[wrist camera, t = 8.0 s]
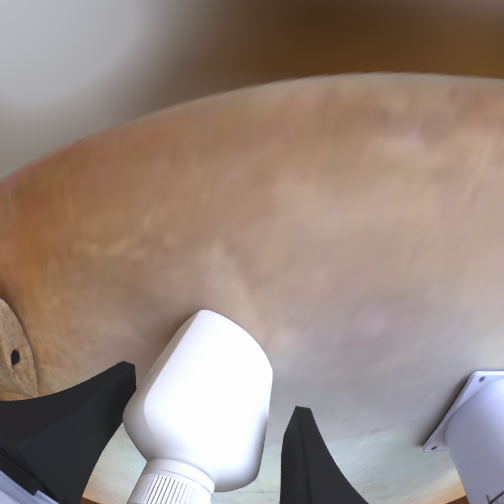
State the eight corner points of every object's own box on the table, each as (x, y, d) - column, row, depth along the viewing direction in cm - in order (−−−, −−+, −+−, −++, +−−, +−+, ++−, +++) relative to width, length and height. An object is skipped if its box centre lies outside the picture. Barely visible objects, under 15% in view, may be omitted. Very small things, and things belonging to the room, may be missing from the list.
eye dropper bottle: (208, 390, 17) (138, 562, 5) (175, 311, 16) (37, 487, 4) (278, 382, 16) (251, 583, 5) (252, 296, 15) (172, 535, 3)
